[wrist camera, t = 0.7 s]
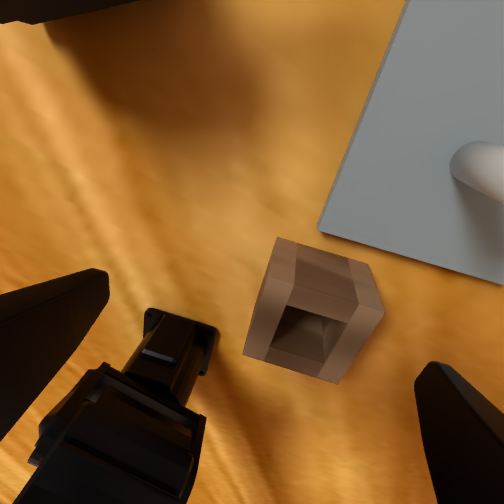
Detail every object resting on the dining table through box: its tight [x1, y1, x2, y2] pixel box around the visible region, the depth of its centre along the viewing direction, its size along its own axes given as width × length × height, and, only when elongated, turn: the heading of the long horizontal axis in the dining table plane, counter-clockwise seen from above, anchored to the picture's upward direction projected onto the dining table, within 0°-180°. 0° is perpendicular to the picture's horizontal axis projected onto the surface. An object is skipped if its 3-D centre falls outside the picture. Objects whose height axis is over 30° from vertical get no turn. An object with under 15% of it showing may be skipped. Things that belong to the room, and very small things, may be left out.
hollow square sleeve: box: [242, 237, 386, 384], centre depth 19 cm, size 6×6×5 cm
